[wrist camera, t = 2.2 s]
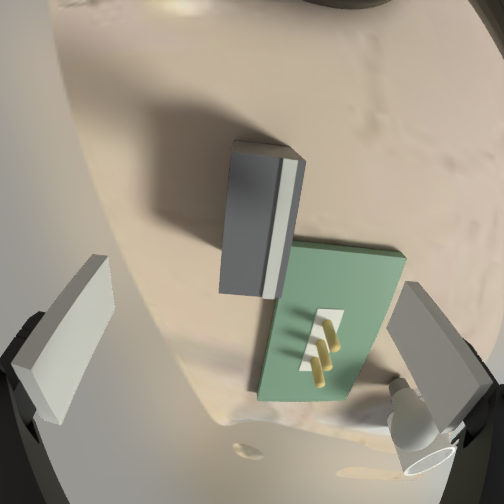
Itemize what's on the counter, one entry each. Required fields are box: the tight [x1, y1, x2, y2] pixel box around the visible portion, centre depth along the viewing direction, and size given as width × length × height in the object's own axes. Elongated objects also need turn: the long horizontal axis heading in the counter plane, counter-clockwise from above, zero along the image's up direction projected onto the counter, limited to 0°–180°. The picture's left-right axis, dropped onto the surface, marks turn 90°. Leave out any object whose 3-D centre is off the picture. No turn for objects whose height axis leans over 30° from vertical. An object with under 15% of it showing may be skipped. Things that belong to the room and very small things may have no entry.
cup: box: [387, 397, 465, 476], centre depth 35 cm, size 8×12×10 cm
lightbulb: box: [389, 378, 439, 451], centre depth 30 cm, size 6×6×11 cm
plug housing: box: [219, 140, 306, 299], centre depth 21 cm, size 9×4×6 cm, turn 174°
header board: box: [257, 240, 407, 402], centre depth 29 cm, size 20×11×5 cm, turn 173°
